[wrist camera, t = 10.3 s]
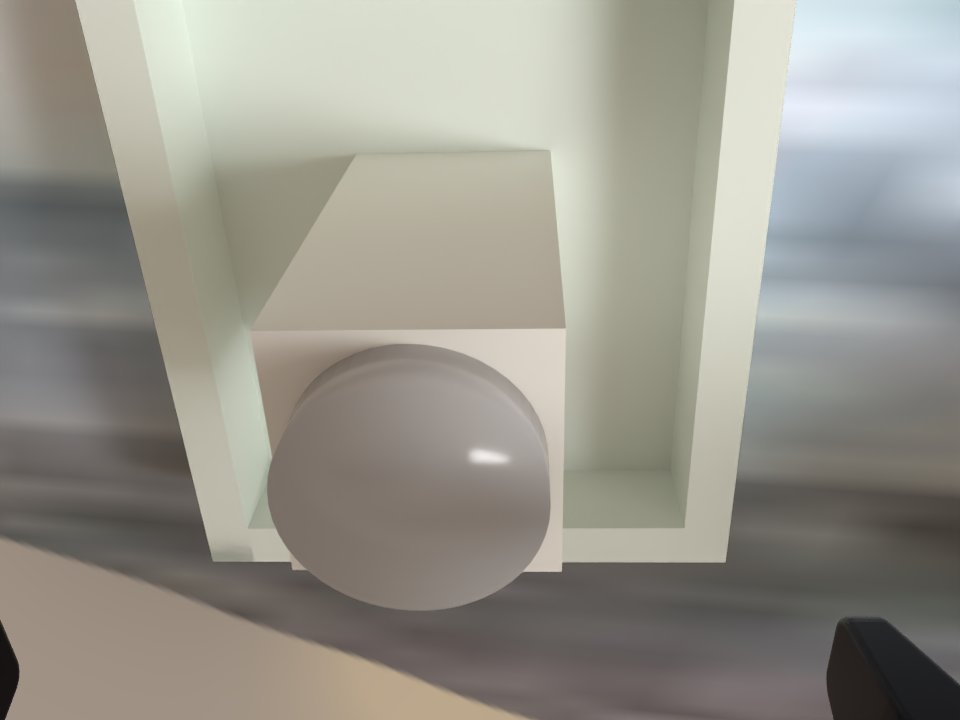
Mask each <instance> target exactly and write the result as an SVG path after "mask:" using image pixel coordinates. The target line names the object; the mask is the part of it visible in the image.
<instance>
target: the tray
mask: <svg viewBox="0 0 960 720" xmlns="http://www.w3.org/2000/svg"><path fill="white" fill-rule="evenodd" d="M75 1H76V5H77V9H78V13H79V17H80V21H81V25H82V30H83V34H84V38H85V42H86V46H87V50H88V54H89V58H90V62H91V66H92V70H93V74H94V78H95V82H96V87H97V91H98V95H99V99H100V103H101V107H102V111H103V115H104V119H105V123H106V127H107V131H108V135H109V140H110V144H111V148H112V152H113V156H114V160H115V164H116V168H117V172H118V176H119V180H120V184H121V188H122V193H123V197H124V201H125V205H126V209H127V213H128V217H129V221H130V225H131V229H132V233H133V237H134V241H135V246H136V250H137V254H138V258H139V262H140V266H141V270H142V274H143V278H144V282H145V286H146V290H147V294H148V298H149V303H150V307H151V311H152V315H153V319H154V323H155V327H156V331H157V335H158V339H159V343H160V347H161V351H162V356H163V360H164V364H165V368H166V372H167V376H168V380H169V384H170V388H171V392H172V396H173V400H174V404H175V409H176V413H177V417H178V421H179V425H180V429H181V433H182V437H183V441H184V445H185V449H186V453H187V457H188V462H189V466H190V470H191V474H192V478H193V482H194V486H195V490H196V494H197V498H198V502H199V506H200V510H201V514H202V519H203V523H204V527H205V531H206V535H207V539H208V543H209V547H210V551H211V555H212V559H213V562H291V559H290V553H289V550H288V549H287V547H286V546H285V544H284V543H283V541H282V539H281V538H280V536H279V534H278V532H277V530H276V528H275V525H274V523H273V521H272V517H271V514H270V510H269V506H268V497H267V479H268V473H269V468H270V464H271V461H272V453H271V447H270V442H269V436H268V431H267V425H266V420H265V414H264V409H263V403H262V397H261V392H260V386H259V381H258V375H257V370H256V364H255V358H254V353H253V347H252V342H251V336H250V329H251V328H252V326H253V325H254V323H255V321H256V320H257V318H258V316H259V315H260V313H261V311H262V310H263V308H264V306H265V305H266V303H267V301H268V300H269V298H270V296H271V295H272V293H273V291H274V290H275V288H276V286H277V285H278V283H279V281H280V280H281V278H282V277H283V275H284V273H285V272H286V270H287V268H288V267H289V265H290V263H291V262H292V260H293V258H294V257H295V255H296V253H297V252H298V250H299V248H300V247H301V245H302V243H303V242H304V240H305V238H306V237H307V235H308V233H309V232H310V230H311V228H312V227H313V225H314V224H315V222H316V220H317V219H318V217H319V215H320V214H321V212H322V210H323V209H324V207H325V205H326V204H327V202H328V200H329V199H330V197H331V195H332V194H333V192H334V190H335V189H336V187H337V185H338V184H339V182H340V180H341V179H342V177H343V175H344V174H345V172H346V171H347V169H348V167H349V166H350V164H351V162H352V161H353V159H354V157H355V156H356V154H394V153H446V152H497V151H549V150H550V151H551V163H552V174H553V186H554V197H555V209H556V220H557V231H558V243H559V254H560V266H561V277H562V289H563V300H564V312H565V323H566V356H565V414H564V473H563V532H562V562H726V554H727V546H728V538H729V530H730V523H731V515H732V507H733V499H734V491H735V483H736V475H737V467H738V459H739V451H740V443H741V436H742V428H743V420H744V412H745V404H746V396H747V388H748V380H749V372H750V364H751V356H752V348H753V341H754V333H755V325H756V317H757V309H758V301H759V293H760V285H761V277H762V269H763V261H764V254H765V246H766V238H767V230H768V222H769V214H770V206H771V198H772V190H773V182H774V174H775V166H776V159H777V151H778V143H779V135H780V127H781V119H782V111H783V103H784V95H785V87H786V79H787V72H788V64H789V56H790V48H791V40H792V32H793V24H794V16H795V8H796V0H75Z"/></svg>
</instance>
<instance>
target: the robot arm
mask: <svg viewBox="0 0 960 720" xmlns="http://www.w3.org/2000/svg"><path fill="white" fill-rule="evenodd" d="M826 680H827V692H828V697H829V701H830V706H831V710H832V714H833V719H834V720H960V684H959V683H958V682H957V681H956V680H954V679H953V678H952V677H951V676H950V675H949V674H948V673H946V672H945V671H944V670H943V669H942V668H941V667H940V666H938V665H937V664H936V663H935V662H934V661H933V660H932V659H930V658H929V657H928V656H927V655H926V654H925V653H924V652H922V651H921V650H920V649H919V648H918V647H917V646H916V645H915V644H913V643H912V642H911V641H910V640H909V639H908V638H907V637H905V636H904V635H903V634H902V633H901V632H900V631H899V630H897V629H896V628H895V627H894V626H893V625H892V624H891V623H889V622H888V621H887V620H885V619H883V618H881V617H877V616H846V617H843V618H841V619H840V621H839V622H838V624H837V627H836V631H835V636H834V641H833V645H832V650H831V654H830V659H829V664H828V668H827V678H826ZM18 681H19V664H18V661H17V658H16V656H15V654H14V651H13V649H12V647H11V644H10V642H9V639H8V637H7V635H6V632H5V630H4V627H3V625H2V623H1V621H0V720H5V718H6V715H7V713H8V710H9V707H10V705H11V702H12V699H13V697H14V694H15V691H16V689H17V685H18Z"/></svg>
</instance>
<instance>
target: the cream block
mask: <svg viewBox="0 0 960 720" xmlns="http://www.w3.org/2000/svg"><path fill="white" fill-rule="evenodd" d="M250 336H251V342H252V347H253V353H254V358H255V364H256V370H257V375H258V381H259V386H260V392H261V397H262V403H263V409H264V414H265V420H266V425H267V431H268V436H269V442H270V447H271V453H272V461H271V464H270V468H269V473H268V479H267V497H268V506H269V510H270V514H271V517H272V521H273V523H274V525H275V528H276V530H277V532H278V534H279V536H280V538H281V539H282V541H283V543H284V544H285V546H286V547H287V549H288V550H289V553H290V559H291V564H292V570H308V571H309V572H310V573H311V574H313V575H314V576H315V577H317V578H318V579H319V580H320V581H322V582H324V583H325V584H327V585H329V586H330V587H332V588H333V589H335V590H337V591H339V592H341V593H343V594H345V595H348V596H350V597H352V598H355V599H358V600H360V601H363V602H366V603H369V604H373V605H377V606H381V607H386V608H393V609H399V610H414V611H424V610H439V609H446V608H453V607H457V606H461V605H465V604H469V603H471V602H474V601H477V600H480V599H482V598H485V597H487V596H489V595H491V594H493V593H495V592H497V591H498V590H500V589H501V588H503V587H504V586H506V585H507V584H509V583H510V582H512V581H513V580H514V579H515V578H516V577H517V576H518V575H520V574H521V573H522V572H562V532H563V473H564V414H565V356H566V323H565V312H564V300H563V289H562V277H561V266H560V254H559V243H558V231H557V220H556V209H555V197H554V186H553V174H552V163H551V151H550V150H549V151H497V152H446V153H394V154H356V156H355V157H354V159H353V161H352V162H351V164H350V166H349V167H348V169H347V171H346V172H345V174H344V175H343V177H342V179H341V180H340V182H339V184H338V185H337V187H336V189H335V190H334V192H333V194H332V195H331V197H330V199H329V200H328V202H327V204H326V205H325V207H324V209H323V210H322V212H321V214H320V215H319V217H318V219H317V220H316V222H315V224H314V225H313V227H312V228H311V230H310V232H309V233H308V235H307V237H306V238H305V240H304V242H303V243H302V245H301V247H300V248H299V250H298V252H297V253H296V255H295V257H294V258H293V260H292V262H291V263H290V265H289V267H288V268H287V270H286V272H285V273H284V275H283V277H282V278H281V280H280V281H279V283H278V285H277V286H276V288H275V290H274V291H273V293H272V295H271V296H270V298H269V300H268V301H267V303H266V305H265V306H264V308H263V310H262V311H261V313H260V315H259V316H258V318H257V320H256V321H255V323H254V325H253V326H252V328H251V329H250Z"/></svg>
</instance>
